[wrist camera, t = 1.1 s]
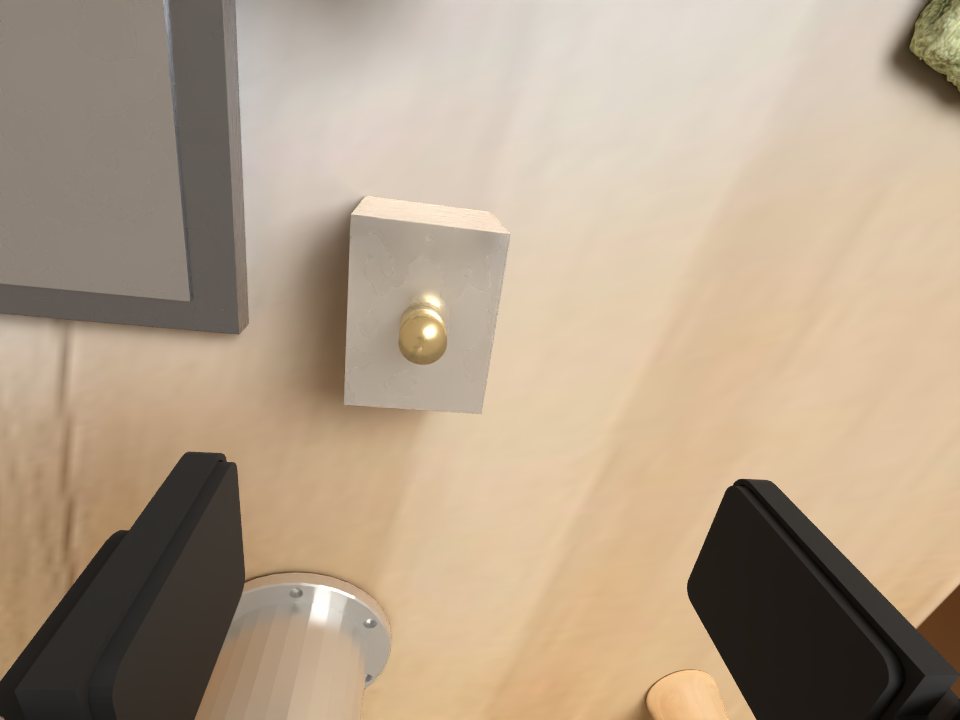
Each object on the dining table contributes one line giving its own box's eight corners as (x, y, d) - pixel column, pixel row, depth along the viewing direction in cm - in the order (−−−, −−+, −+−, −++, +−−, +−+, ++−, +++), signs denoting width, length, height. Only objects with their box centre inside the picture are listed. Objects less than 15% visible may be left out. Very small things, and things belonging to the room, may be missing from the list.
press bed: (289, 327, 26) (244, 395, 19) (-45, 296, 24) (-227, 362, 17) (284, -315, 17) (195, -606, 10) (-260, -467, 15) (-836, -974, 8)
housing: (469, 359, 28) (487, 438, 21) (358, 350, 27) (337, 429, 20) (490, 211, 25) (519, 244, 18) (366, 195, 24) (343, 223, 17)
